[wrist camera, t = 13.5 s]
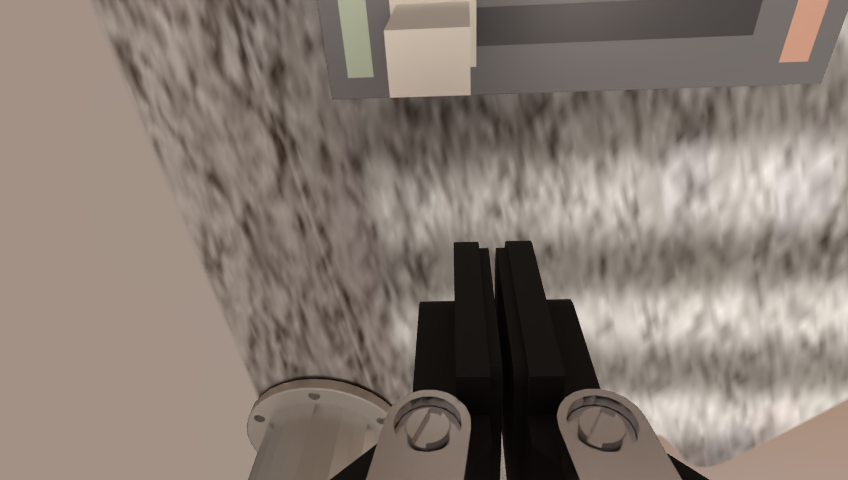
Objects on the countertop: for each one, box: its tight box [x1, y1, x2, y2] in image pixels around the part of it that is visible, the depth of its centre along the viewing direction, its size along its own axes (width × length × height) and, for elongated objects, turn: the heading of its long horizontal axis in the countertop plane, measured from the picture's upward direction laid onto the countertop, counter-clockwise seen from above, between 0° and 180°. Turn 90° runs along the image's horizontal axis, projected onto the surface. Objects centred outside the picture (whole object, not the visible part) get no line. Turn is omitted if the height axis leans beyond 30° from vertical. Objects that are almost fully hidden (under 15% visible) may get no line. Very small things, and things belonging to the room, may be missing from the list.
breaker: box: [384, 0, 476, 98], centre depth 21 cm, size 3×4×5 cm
